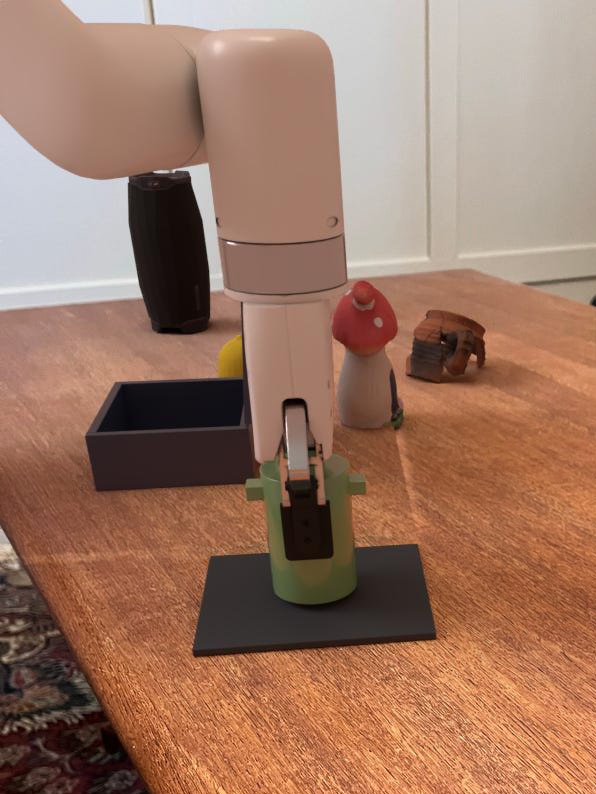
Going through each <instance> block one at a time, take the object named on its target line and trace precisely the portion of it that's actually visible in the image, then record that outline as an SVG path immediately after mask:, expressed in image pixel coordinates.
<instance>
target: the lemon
mask: <svg viewBox="0 0 596 794" xmlns="http://www.w3.org/2000/svg"><path fill="white" fill-rule="evenodd" d="M226 377H243V360H242V333H240V334H236V336H235V337H234V338H232V339H230V340H228V341H227V342H226V343H225V344H224V345H223V346H222V348H221V349H220V351H219V353H218V359H217V378H226Z"/></svg>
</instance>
